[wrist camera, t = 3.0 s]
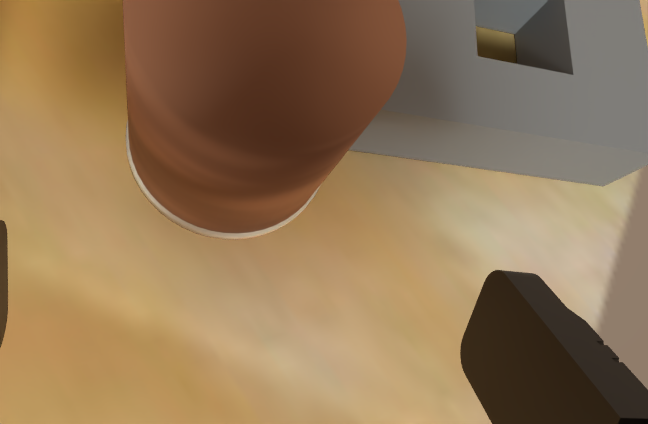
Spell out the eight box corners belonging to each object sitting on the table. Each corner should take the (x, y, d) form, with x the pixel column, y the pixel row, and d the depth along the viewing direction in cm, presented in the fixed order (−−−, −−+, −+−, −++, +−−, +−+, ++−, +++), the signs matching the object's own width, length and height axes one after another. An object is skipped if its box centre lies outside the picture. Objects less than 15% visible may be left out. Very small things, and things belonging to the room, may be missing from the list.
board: (348, 150, 24) (380, 109, 21) (350, -55, 27) (378, -117, 24) (603, 186, 27) (666, 156, 24) (578, -2, 30) (630, -50, 27)
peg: (117, 256, 20) (97, 125, 11) (139, 93, 22) (138, -137, 13) (296, 271, 22) (413, 168, 12) (302, 118, 24) (407, -71, 14)
